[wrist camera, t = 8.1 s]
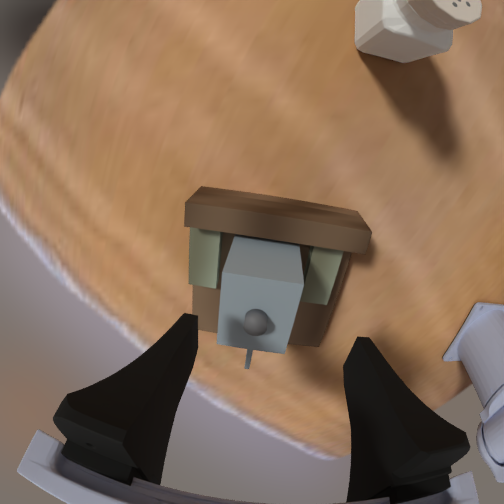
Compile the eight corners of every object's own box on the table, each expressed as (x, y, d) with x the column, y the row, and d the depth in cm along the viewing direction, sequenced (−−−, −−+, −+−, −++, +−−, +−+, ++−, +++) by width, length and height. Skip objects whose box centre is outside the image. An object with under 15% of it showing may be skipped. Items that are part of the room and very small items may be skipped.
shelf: (357, 211, 19) (372, 232, 16) (317, 337, 25) (321, 368, 22) (201, 186, 20) (185, 202, 16) (195, 319, 25) (185, 348, 22)
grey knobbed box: (298, 234, 19) (305, 293, 13) (278, 318, 23) (276, 387, 17) (238, 225, 19) (219, 281, 13) (228, 311, 23) (212, 377, 17)
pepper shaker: (407, 66, 14) (493, 47, 6) (352, 52, 14) (412, 8, 6) (407, 18, 12) (483, -23, 4) (353, 3, 12) (403, -62, 4)
